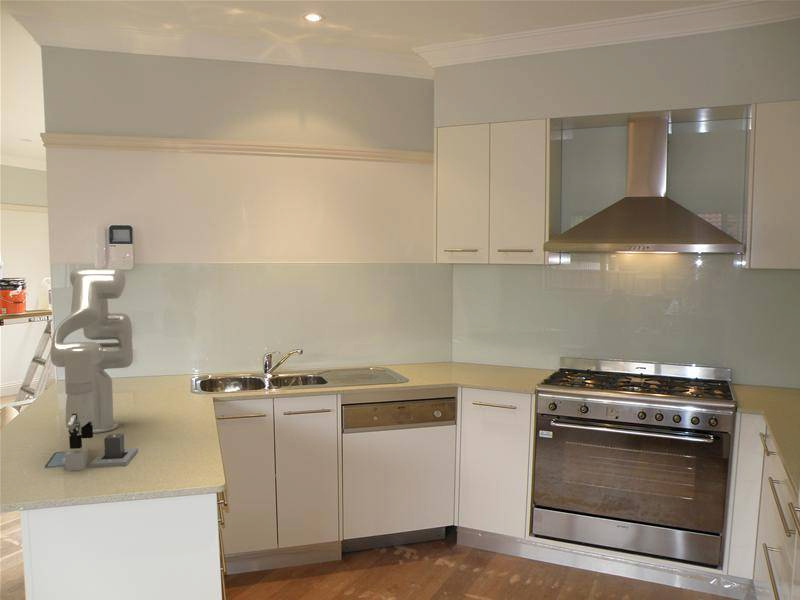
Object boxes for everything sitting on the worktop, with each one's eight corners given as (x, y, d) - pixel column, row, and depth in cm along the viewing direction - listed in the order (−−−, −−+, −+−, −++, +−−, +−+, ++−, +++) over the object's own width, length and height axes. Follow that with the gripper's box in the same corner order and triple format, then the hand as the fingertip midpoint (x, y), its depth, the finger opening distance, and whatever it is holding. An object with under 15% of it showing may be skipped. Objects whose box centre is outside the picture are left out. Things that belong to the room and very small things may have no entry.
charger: (109, 456, 194) (108, 434, 194) (124, 455, 195) (123, 433, 195) (104, 460, 190) (104, 438, 190) (120, 460, 191) (119, 437, 190)
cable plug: (65, 467, 185) (64, 450, 185) (87, 466, 186) (87, 449, 186) (61, 471, 182) (60, 454, 182) (83, 470, 183) (83, 453, 183)
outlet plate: (104, 453, 199) (104, 449, 198) (137, 451, 200) (137, 447, 200) (90, 467, 185) (90, 463, 185) (125, 465, 186) (125, 461, 186)
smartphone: (43, 467, 184) (54, 452, 198) (43, 470, 184) (54, 454, 198) (70, 465, 186) (80, 449, 200) (70, 467, 186) (80, 452, 200)
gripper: (76, 381, 194) (78, 434, 195) (54, 394, 177) (57, 453, 178) (102, 380, 195) (103, 433, 197) (82, 394, 178) (84, 452, 180)
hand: (81, 443), depth 187 cm, fingers open, 9 cm apart
